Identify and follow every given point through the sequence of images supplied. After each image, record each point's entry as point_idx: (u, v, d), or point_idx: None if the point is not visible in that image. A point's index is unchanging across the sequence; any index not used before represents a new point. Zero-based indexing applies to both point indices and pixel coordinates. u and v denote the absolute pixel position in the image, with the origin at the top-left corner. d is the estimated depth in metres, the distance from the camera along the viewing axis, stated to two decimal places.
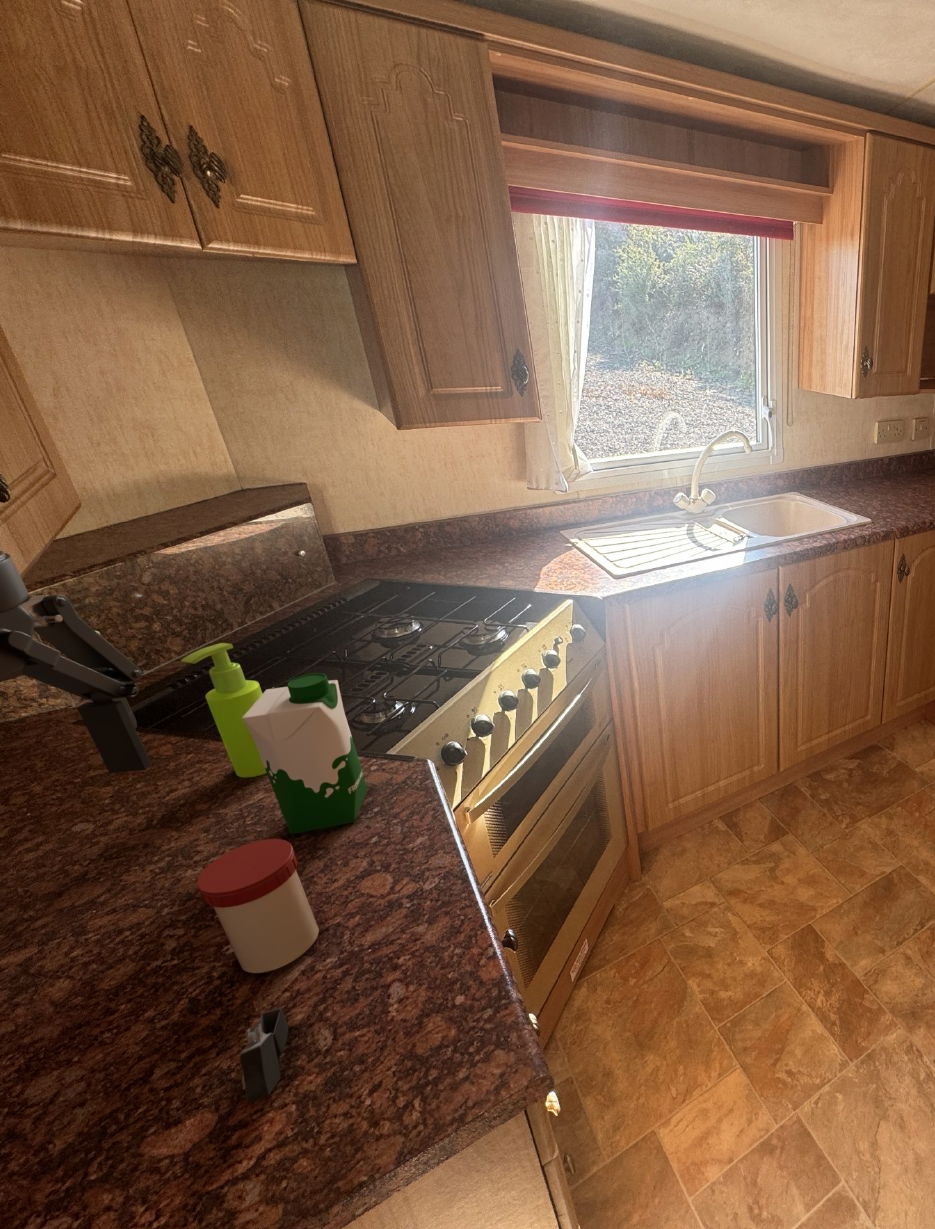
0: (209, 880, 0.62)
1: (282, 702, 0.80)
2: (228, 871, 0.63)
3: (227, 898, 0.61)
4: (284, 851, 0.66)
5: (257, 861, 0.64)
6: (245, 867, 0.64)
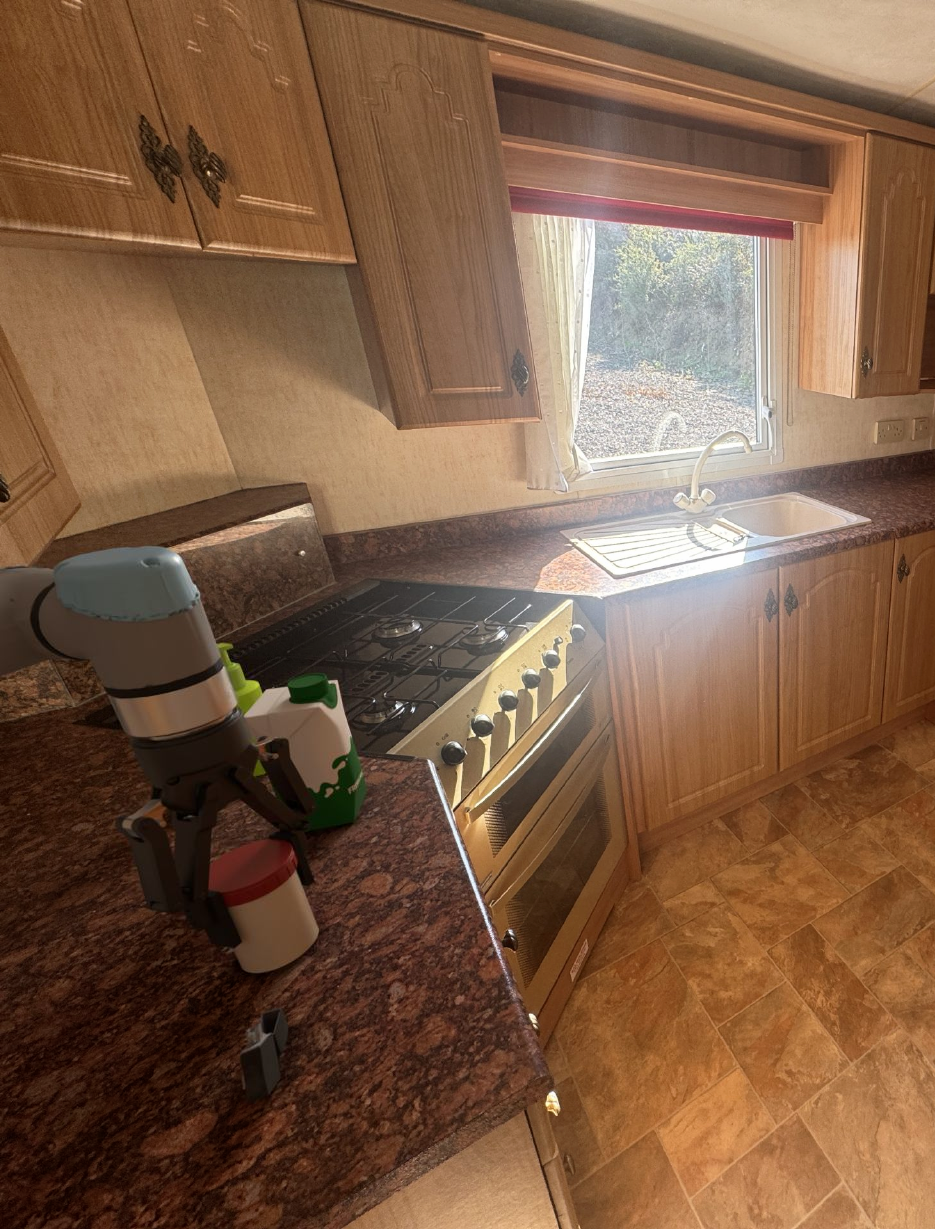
0: (209, 880, 0.62)
1: (282, 702, 0.79)
2: (228, 871, 0.63)
3: (227, 898, 0.61)
4: (284, 851, 0.66)
5: (257, 861, 0.64)
6: (245, 867, 0.64)
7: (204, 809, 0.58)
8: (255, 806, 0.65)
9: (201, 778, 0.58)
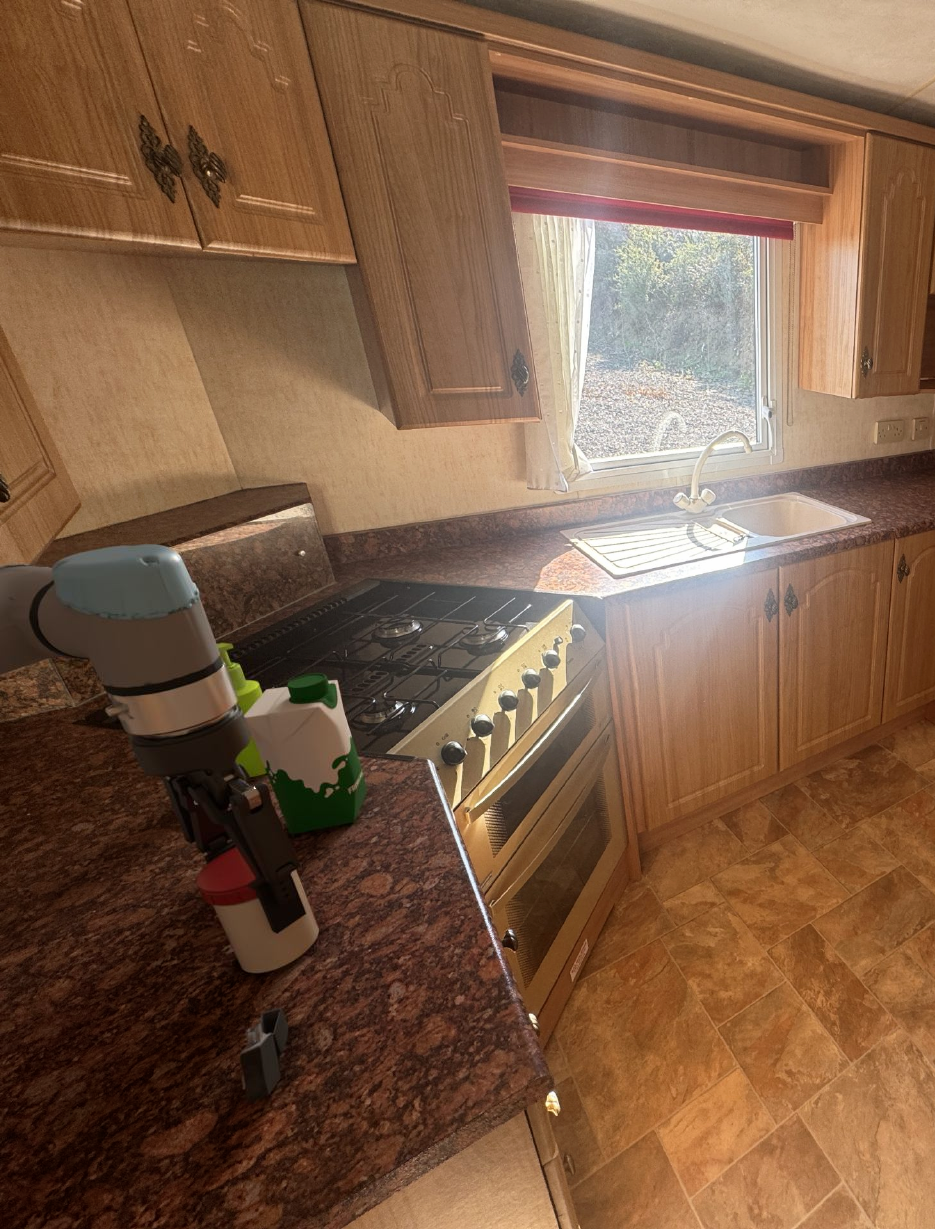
0: (242, 880, 0.62)
1: (282, 702, 0.79)
2: (243, 871, 0.63)
3: None
4: None
5: None
6: None
7: (250, 786, 0.61)
8: None
9: None
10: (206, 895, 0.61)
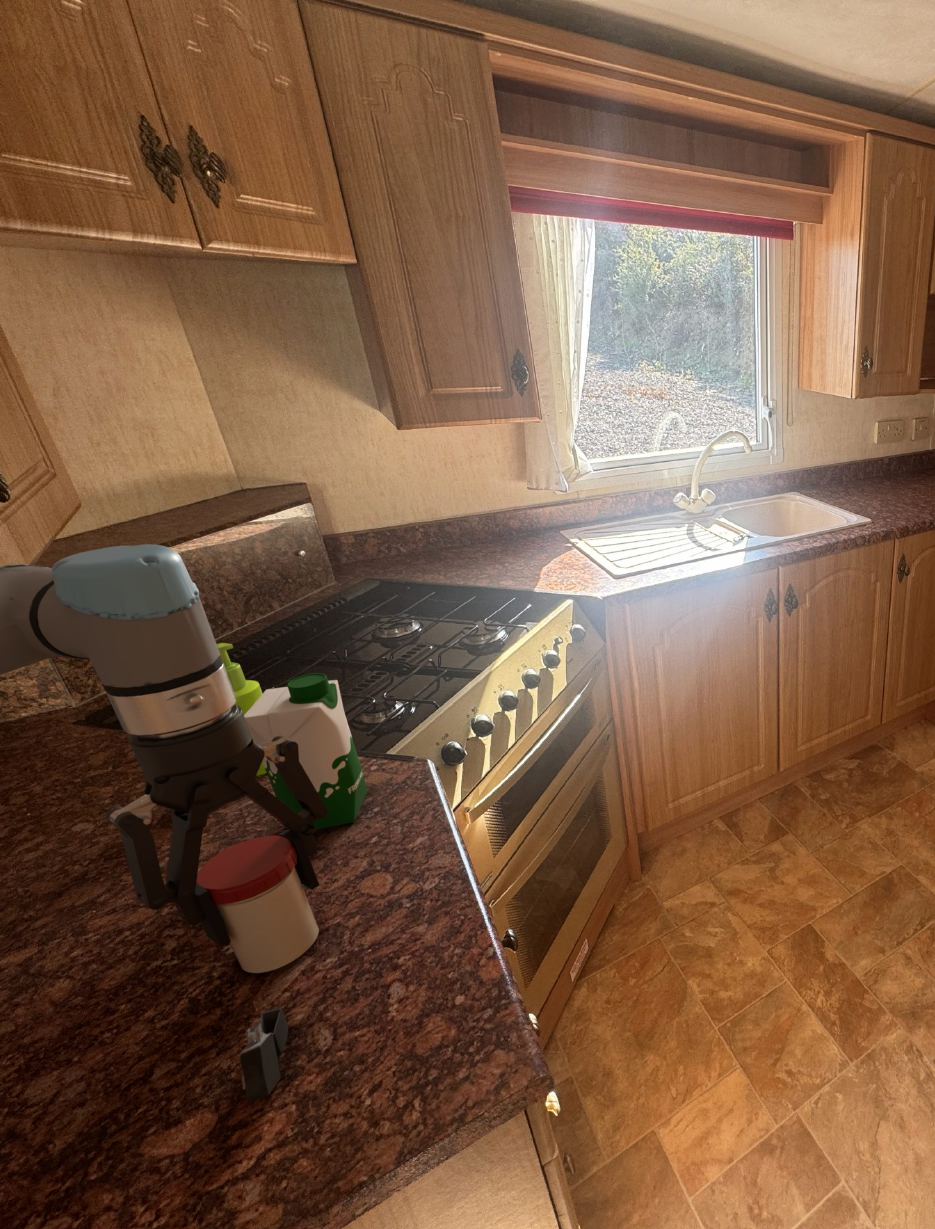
0: (280, 850, 0.65)
1: (282, 702, 0.79)
2: (262, 856, 0.64)
3: None
4: (207, 868, 0.63)
5: (235, 862, 0.64)
6: (248, 857, 0.64)
7: None
8: None
9: None
10: (271, 877, 0.63)
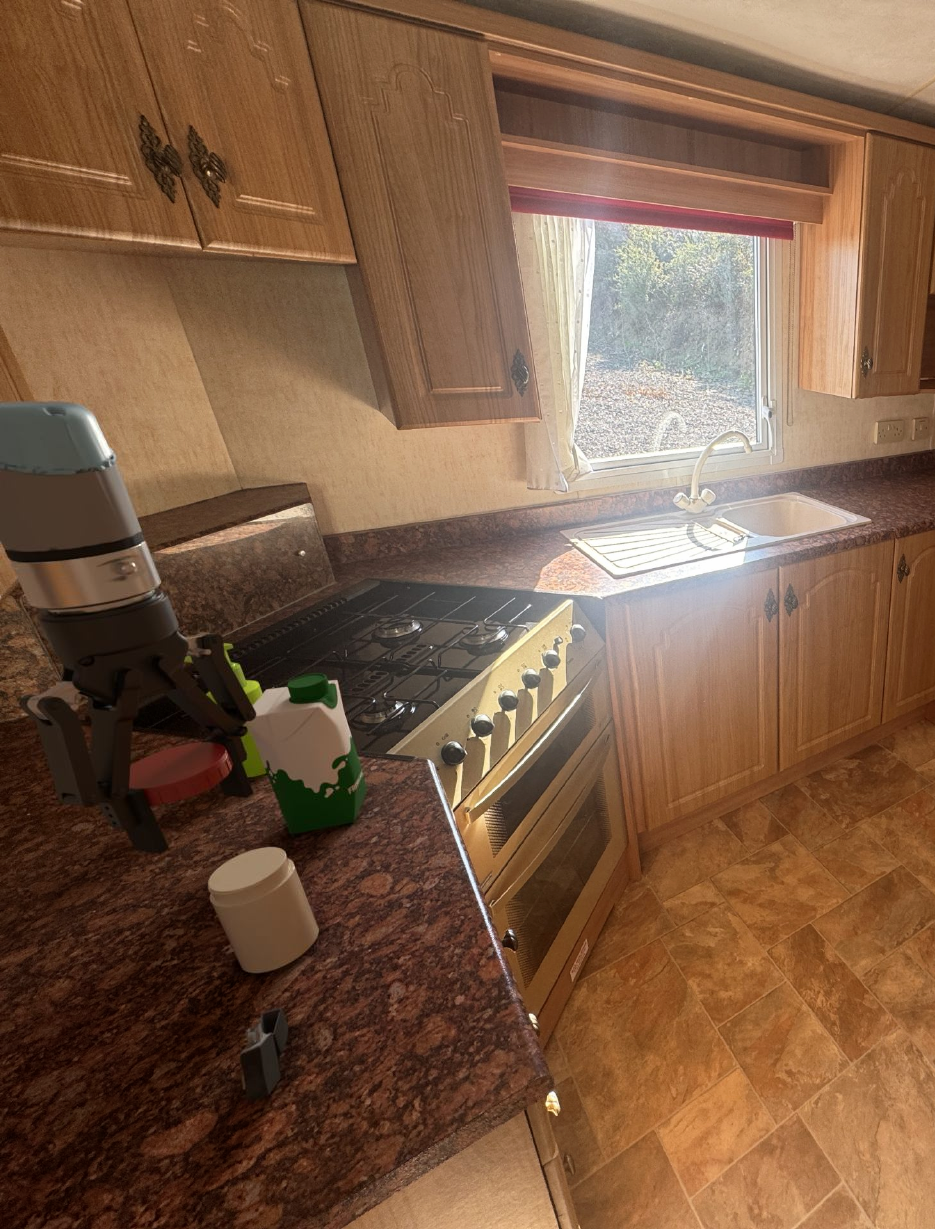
0: (214, 751, 0.61)
1: (282, 702, 0.79)
2: (193, 758, 0.60)
3: None
4: None
5: (161, 766, 0.59)
6: (175, 761, 0.60)
7: None
8: None
9: None
10: (213, 773, 0.59)
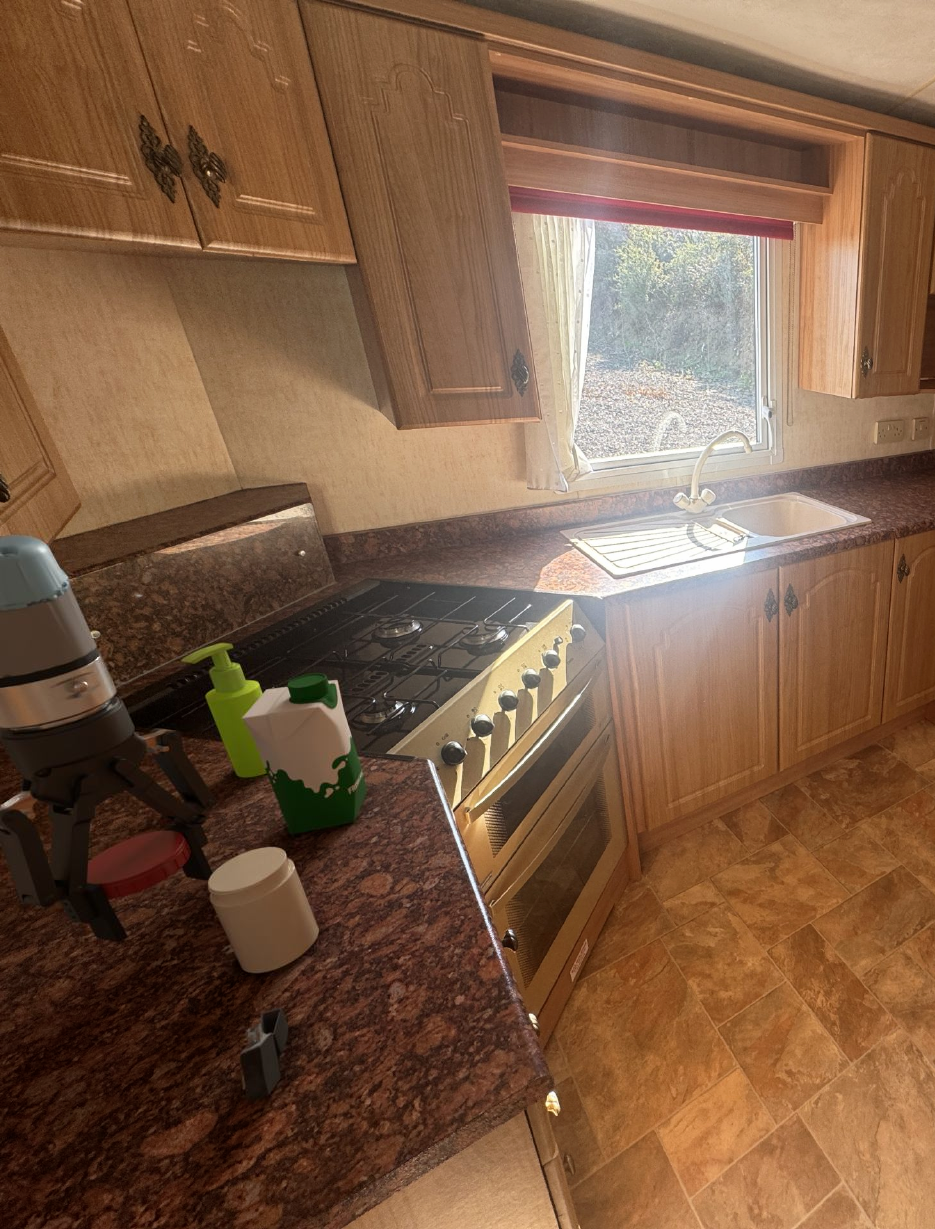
0: (172, 841, 0.65)
1: (282, 702, 0.79)
2: (152, 849, 0.64)
3: None
4: (90, 868, 0.62)
5: (121, 858, 0.63)
6: (135, 852, 0.64)
7: None
8: None
9: None
10: (169, 865, 0.63)
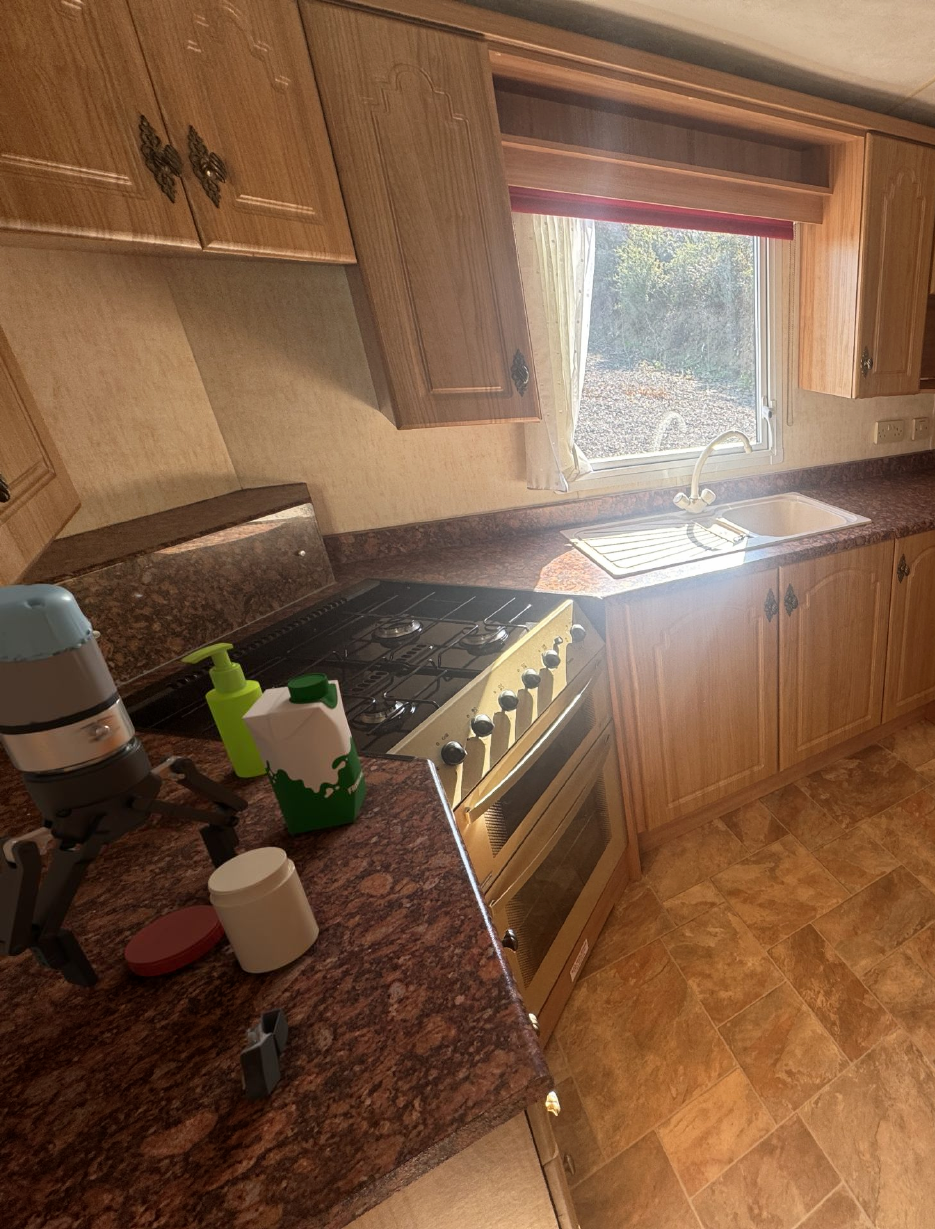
0: (208, 916, 0.69)
1: (282, 702, 0.79)
2: (191, 925, 0.68)
3: None
4: (133, 946, 0.66)
5: (162, 935, 0.67)
6: (174, 929, 0.68)
7: None
8: None
9: None
10: (206, 941, 0.67)
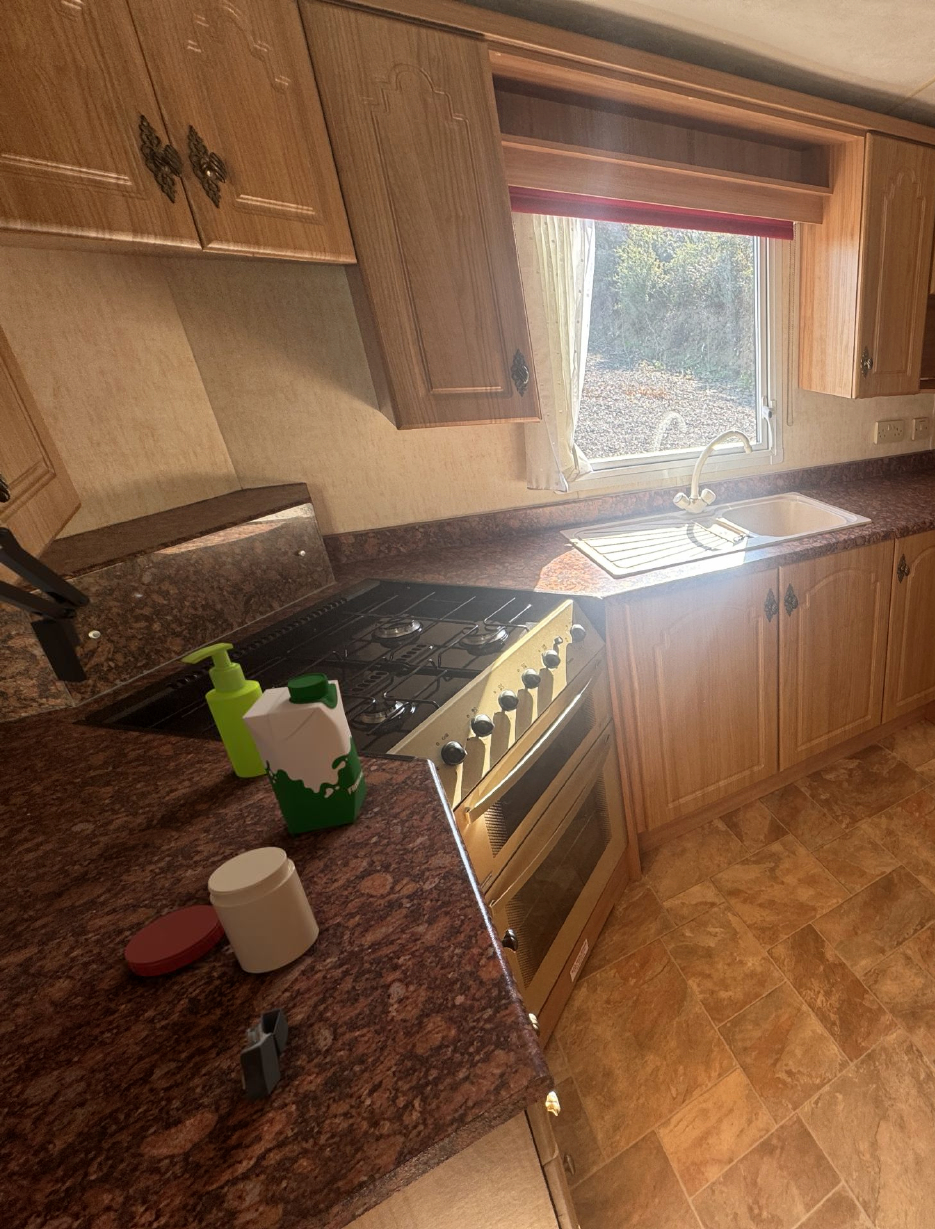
0: (208, 916, 0.69)
1: (282, 702, 0.79)
2: (191, 925, 0.68)
3: None
4: (133, 946, 0.66)
5: (162, 935, 0.67)
6: (174, 929, 0.68)
7: None
8: None
9: None
10: (206, 941, 0.67)
